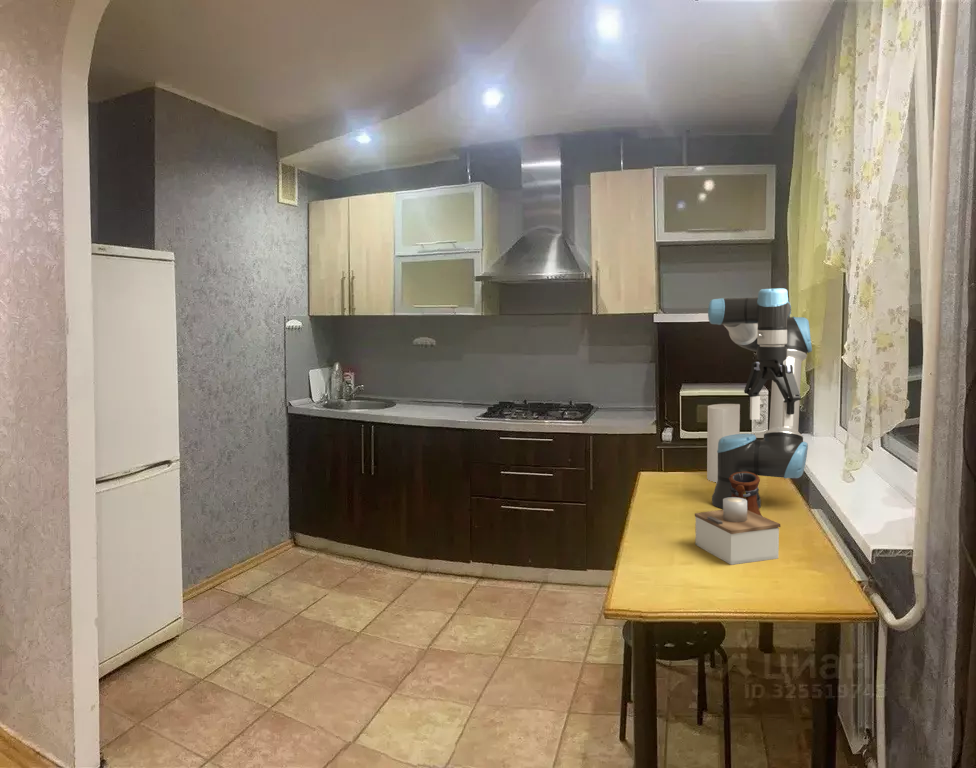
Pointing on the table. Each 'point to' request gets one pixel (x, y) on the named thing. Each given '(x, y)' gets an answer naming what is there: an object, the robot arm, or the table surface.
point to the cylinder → (720, 432)
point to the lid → (751, 524)
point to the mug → (746, 489)
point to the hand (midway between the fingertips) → (770, 422)
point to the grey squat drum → (735, 509)
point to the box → (737, 543)
